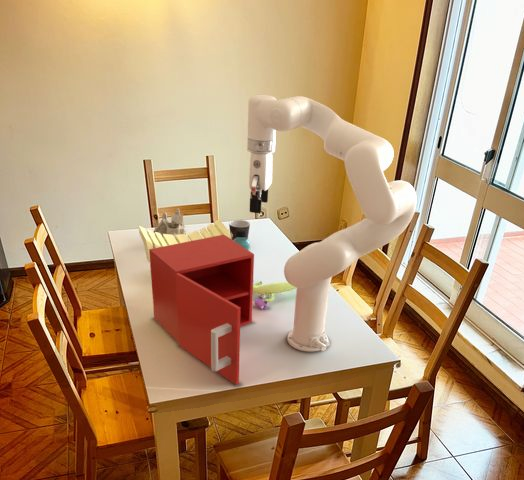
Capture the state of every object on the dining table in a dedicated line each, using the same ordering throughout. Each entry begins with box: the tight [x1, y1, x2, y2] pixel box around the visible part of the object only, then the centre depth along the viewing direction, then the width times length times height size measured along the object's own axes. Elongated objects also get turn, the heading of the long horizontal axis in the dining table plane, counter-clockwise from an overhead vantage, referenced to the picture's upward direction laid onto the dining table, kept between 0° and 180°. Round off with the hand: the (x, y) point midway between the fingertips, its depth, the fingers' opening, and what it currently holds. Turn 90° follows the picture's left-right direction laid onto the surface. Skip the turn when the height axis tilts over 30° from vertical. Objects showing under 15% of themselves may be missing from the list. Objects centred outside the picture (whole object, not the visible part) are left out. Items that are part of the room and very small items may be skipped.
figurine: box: [253, 280, 297, 310], centre depth 192 cm, size 18×27×6 cm
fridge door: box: [176, 273, 241, 386], centre depth 150 cm, size 7×26×24 cm, turn 43°
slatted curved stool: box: [138, 218, 231, 263], centre depth 202 cm, size 30×16×18 cm, turn 111°
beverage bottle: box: [233, 228, 251, 251], centre depth 199 cm, size 6×7×20 cm
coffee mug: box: [228, 219, 251, 240], centre depth 231 cm, size 12×9×10 cm
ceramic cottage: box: [153, 207, 187, 244], centre depth 226 cm, size 16×16×15 cm
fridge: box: [149, 235, 255, 344], centre depth 173 cm, size 18×26×24 cm
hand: (258, 207), depth 159 cm, fingers open, 9 cm apart
